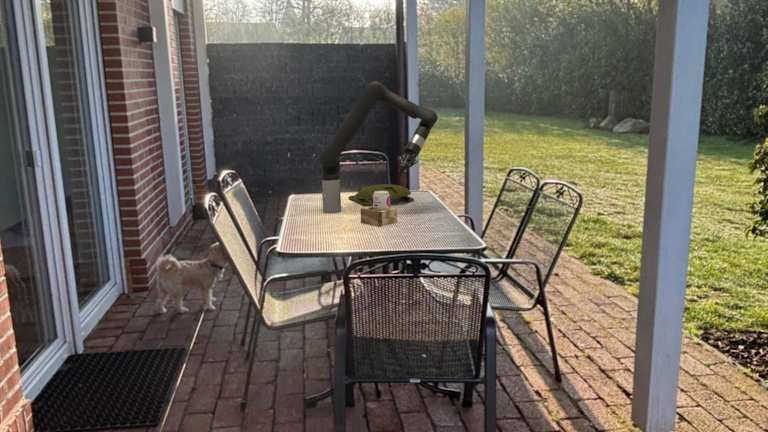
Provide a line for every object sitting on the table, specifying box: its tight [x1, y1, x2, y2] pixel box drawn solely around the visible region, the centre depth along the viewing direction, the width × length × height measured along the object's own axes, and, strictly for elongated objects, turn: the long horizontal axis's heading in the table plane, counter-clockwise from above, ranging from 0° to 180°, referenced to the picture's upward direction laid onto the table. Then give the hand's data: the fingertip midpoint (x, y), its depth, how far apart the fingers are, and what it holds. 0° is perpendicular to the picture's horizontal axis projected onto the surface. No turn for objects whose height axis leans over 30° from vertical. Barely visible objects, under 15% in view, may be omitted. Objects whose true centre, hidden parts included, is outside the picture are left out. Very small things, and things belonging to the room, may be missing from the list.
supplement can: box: [372, 191, 391, 211], centre depth 316 cm, size 8×8×15 cm
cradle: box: [360, 205, 398, 228], centre depth 316 cm, size 12×13×7 cm
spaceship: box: [347, 183, 415, 207], centre depth 374 cm, size 35×31×10 cm
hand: (399, 173), depth 327 cm, fingers closed
